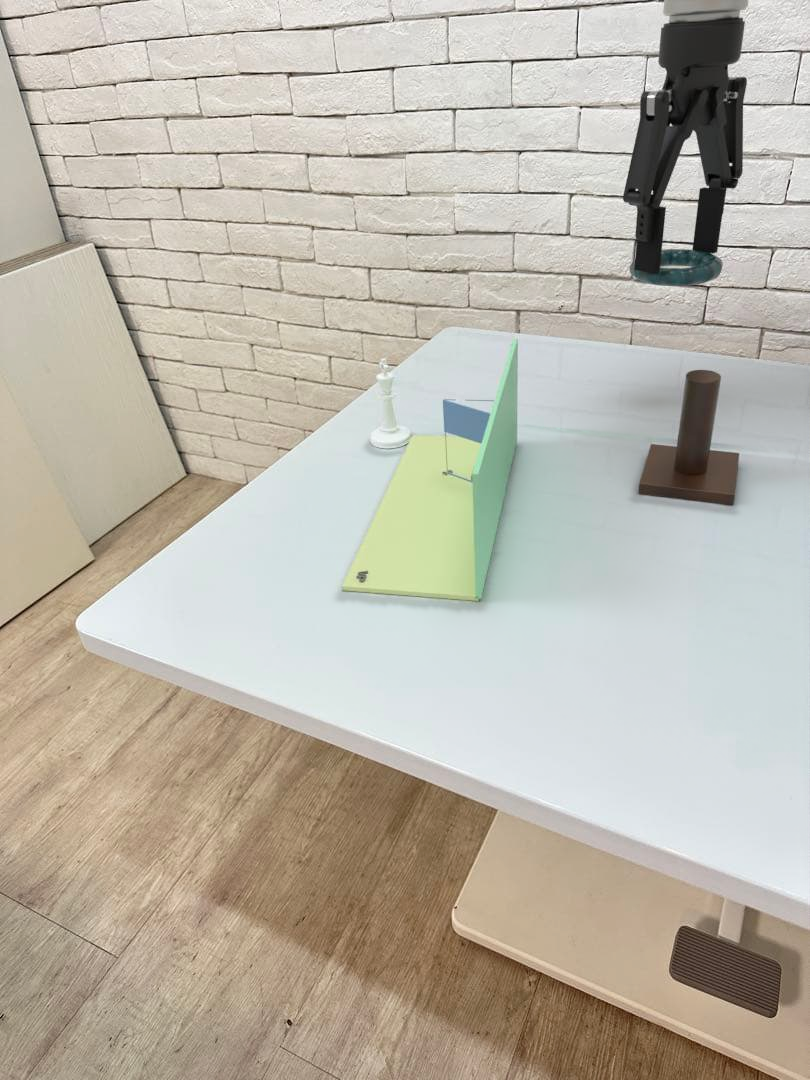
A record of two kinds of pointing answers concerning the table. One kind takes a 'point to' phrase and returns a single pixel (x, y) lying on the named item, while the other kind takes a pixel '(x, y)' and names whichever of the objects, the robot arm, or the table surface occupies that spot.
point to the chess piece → (388, 415)
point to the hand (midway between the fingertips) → (676, 260)
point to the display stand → (444, 504)
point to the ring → (699, 272)
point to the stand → (693, 451)
